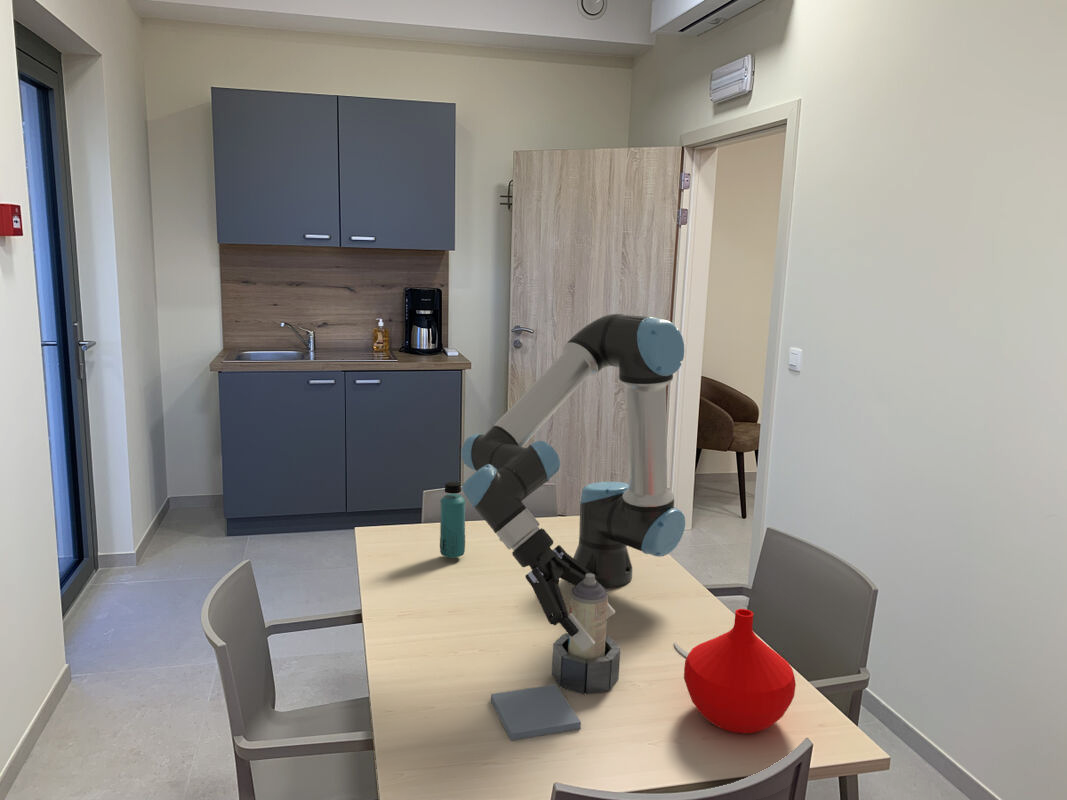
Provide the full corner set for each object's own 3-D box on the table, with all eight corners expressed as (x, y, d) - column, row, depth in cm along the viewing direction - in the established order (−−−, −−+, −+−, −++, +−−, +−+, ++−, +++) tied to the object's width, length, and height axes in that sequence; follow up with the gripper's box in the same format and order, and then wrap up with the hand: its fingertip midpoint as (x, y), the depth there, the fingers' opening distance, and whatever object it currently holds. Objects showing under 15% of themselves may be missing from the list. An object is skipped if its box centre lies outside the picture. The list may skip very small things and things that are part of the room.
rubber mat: (555, 690, 142) (555, 684, 141) (580, 728, 130) (580, 721, 130) (490, 700, 138) (491, 694, 137) (511, 740, 126) (511, 733, 126)
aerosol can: (577, 663, 151) (582, 564, 148) (609, 674, 148) (615, 573, 144) (559, 678, 145) (564, 576, 142) (592, 690, 142) (598, 586, 138)
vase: (660, 699, 140) (667, 598, 137) (744, 680, 147) (753, 584, 144) (723, 760, 123) (733, 646, 120) (814, 735, 131) (826, 628, 127)
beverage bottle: (470, 557, 202) (471, 482, 198) (454, 565, 196) (455, 488, 193) (450, 551, 205) (451, 477, 201) (433, 559, 200) (434, 483, 196)
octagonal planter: (601, 657, 154) (602, 628, 153) (626, 688, 143) (628, 657, 142) (545, 665, 150) (546, 636, 149) (567, 697, 139) (568, 666, 138)
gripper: (535, 530, 159) (604, 614, 157) (484, 573, 137) (563, 673, 134) (561, 508, 156) (631, 594, 154) (513, 549, 134) (594, 650, 131)
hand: (600, 631), depth 144 cm, fingers open, 12 cm apart
